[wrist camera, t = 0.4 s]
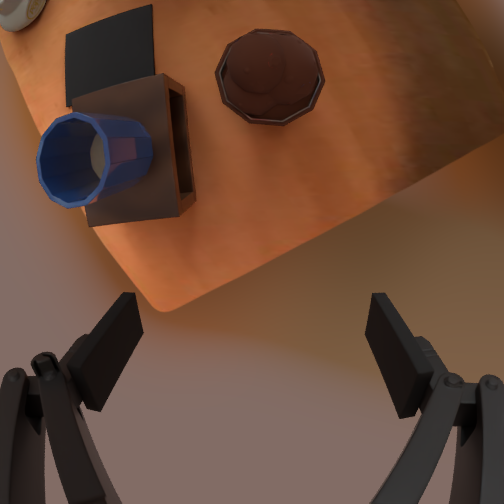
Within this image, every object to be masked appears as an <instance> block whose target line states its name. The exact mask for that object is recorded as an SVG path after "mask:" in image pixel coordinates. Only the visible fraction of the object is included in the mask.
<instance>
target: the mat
mask: <svg viewBox="0 0 504 504" xmlns="http://www.w3.org/2000/svg"><path fill="white" fill-rule="evenodd" d="M153 75H155V67H154V49H153V22H152V4H150V5H146V6H143V7H139V8H136V9H132V10H129V11H126V12H123V13H120V14H117V15H114V16H111V17H108V18H106V19H103V20H100V21H98V22H95V23H92V24H90V25H87V26H85V27H82V28H80V29H78V30H75V31H73V32H71V33H69V34H66V45H65V87H66V107H69V106H72V99H74V98H77V97H80V96H83V95H86V94H89V93H92V92H95V91H98V90H101V89H105V88H108V87H111V86H115V85H118V84H122V83H125V82H129V81H133V80H137V79H141V78H145V77H149V76H153Z"/></svg>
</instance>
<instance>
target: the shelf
mask: <svg viewBox="0 0 504 504" xmlns="http://www.w3.org/2000/svg"><path fill="white" fill-rule="evenodd" d="M72 111H73V112H84V113H95V114H105V115H114V116H123V117H127V118H130V119H133V120H135V121H138V122H140V123H141V124H142V125H143V127H144V128H145V129H146V131H147V132H148V133H149V135H150V136H151V141H152V149H153V159H152V161H151V164H150V167H149V169H148V172H147V174H146V176H144V177H143V178H142V179H141V180H140V181H139V182H137V183H136V184H135V185H134V186H132V187H130V188H128V189H125V190H123V191H120V192H117V193H115V194H113V195H110V196H108V197H105V198H103V199H100V200H98V201H96V202H93V203H91V204H89V205H86V206H85V211H86V216H87V221H88V225H89V227H95V226H102V225H110V224H118V223H127V222H135V221H144V220H153V219H162V218H171V217H179V216H180V215H182V214H183V213H184V212H185V211H186V210H187V209H188V208H189V207H190V206H192V205H193V204H194V203H195V202H196V193H195V185H194V177H193V168H192V159H191V151H190V141H189V132H188V122H187V111H186V101H185V89H184V86H183V85H181V84H180V83H178V82H176V81H175V80H173V79H172V78H170V77H168V76H167V75H165V74H164V73H162V74H158V75H153V76H149V77H145V78H141V79H137V80H133V81H129V82H125V83H122V84H118V85H115V86H111V87H108V88H105V89H101V90H98V91H95V92H92V93H89V94H86V95H83V96H80V97H77V98H74V99H72Z"/></svg>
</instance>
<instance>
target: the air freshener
mask: <svg viewBox="0 0 504 504" xmlns="http://www.w3.org/2000/svg"><path fill="white" fill-rule="evenodd" d="M45 2H46V0H0V24H1V26H2V28H3V29H4V30H6V31H9V32H14V31H18V30H21V29H23V28H24V27H26V26H28V25H29V24H30V23H31V22H32V21H33V20H34V19H35V18H36V17H37V16H38V15H39V13H40V12H41V10H42V9H43V7H44V5H45Z"/></svg>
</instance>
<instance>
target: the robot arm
mask: <svg viewBox="0 0 504 504" xmlns="http://www.w3.org/2000/svg"><path fill="white" fill-rule="evenodd" d="M143 333H144V332H143V328H142V324H141V319H140V315H139V310H138V305H137V300H136V295H135V293H129V292H123V293H122V294H121V295H120V297H119V298H118V299H117V300H116V302H115V303H114V304H113V305H112V306H111V308H110V309H109V310H108V311H107V313H106V314H105V315H104V316H103V317H102V319H101V320H100V321H99V322H98V324H97V325H96V326H95V328H94V329H93V330H92V332H91V333H90V334H84V335H83V336H81V337H80V338H78V339H77V340H76V341H75V343H74V344H73V345H72V347H70V349H69V351H68V352H67V353H66V354H65V355H64V356H63V358H62V359H61V360H60V362H59V363H58V361H57V358H56V356H55V354H53V353H52V352H43V353H40V354H38V355H36V356H35V357H34V358H33V359H32V361H31V366H32V368H33V370H34V372H35V374H36V376H27V375H26V373H25V371H24V369H22V368H13V369H11V370H9V371H8V372H7V373H6V374H5V375H4V377H3V381H2V384H1V388H0V504H45V478H44V458H45V457H44V456H45V454H44V453H45V433H46V432H45V431H46V429H47V432H48V437H49V441H50V445H51V449H52V453H53V457H54V460H55V464H56V467H57V470H58V473H59V477H60V480H61V483H62V486H63V489H64V492H65V495H66V497H67V500H68V503H69V504H122V502H121V501H120V498H119V497H118V495H117V493H116V491H115V489H114V487H113V485H112V483H111V481H110V479H109V477H108V474H107V472H106V470H105V468H104V466H103V463H102V462H101V459H100V457H99V454H98V452H97V450H96V447H95V445H94V442H93V440H92V437H91V435H90V432H89V429H88V427H87V424H86V421H85V418H84V416H83V413H82V410H81V408H80V404H81V402H82V401H83V402H84V404H85V406H86V408H87V409H90V410H94V411H98V412H101V410H102V408H103V406H104V405H105V402H106V400H107V399H108V397H109V395H110V393H111V391H112V389H113V387H114V386H115V384H116V382H117V380H118V378H119V376H120V374H121V373H122V371H123V369H124V367H125V365H126V364H127V362H128V360H129V358H130V356H131V354H132V353H133V351H134V349H135V347H136V346H137V344H138V342H139V340H140V338H141V337H142V335H143ZM365 336H366V338H367V341H368V343H369V345H370V348H371V350H372V352H373V354H374V357H375V359H376V362H377V364H378V366H379V369H380V371H381V374H382V376H383V379H384V381H385V383H386V386H387V388H388V391H389V393H390V396H391V398H392V401H393V403H394V406H395V409H396V411H397V414H398V417H399V419H403V418H408V417H413V416H415V414H416V412H417V410H418V408H419V409H420V411H421V413H422V415H421V416H420V418H419V420H418V423H417V424H416V426H415V428H414V431H413V432H412V434H411V437H410V438H409V440H408V442H407V444H406V446H405V447H404V449H403V451H402V453H401V454H400V456H399V458H398V460H397V461H396V463H395V465H394V466H393V468H392V470H391V471H390V473H389V475H388V476H387V478H386V480H385V481H384V483H383V484H382V486H381V487H380V489H379V490H378V492H377V493H376V495H375V496H374V497H373V499H372V501H371V502H370V503H369V504H418V502H419V500H420V498H421V496H422V495H423V493H424V491H425V489H426V487H427V485H428V483H429V481H430V479H431V477H432V474H433V472H434V470H435V468H436V466H437V463H438V461H439V459H440V456H441V454H442V452H443V449H444V447H445V444H446V442H447V439H448V436H449V434H450V431H451V429H452V426H457V444H456V456H455V466H454V474H453V482H452V489H451V495H450V501H449V504H504V384H503V382H502V381H501V380H500V378H498V377H496V376H494V375H484V376H483V377H482V378H481V379H480V381H479V383H465V382H464V380H463V379H462V378H461V377H460V376H459V375H457V374H455V373H450V372H448V370H447V368H446V367H445V365H444V364H443V362H442V360H441V359H440V358H439V356H438V355H437V353H436V351H435V350H434V349H433V347H432V345H431V344H430V342H429V341H427V340H426V339H425V338H423V337H422V336H420V337H414V336H413V335H412V333H411V332H410V330H409V328H408V327H407V325H406V324H405V322H404V321H403V319H402V318H401V316H400V314H399V313H398V311H397V310H396V309H395V307H394V305H393V304H392V303H391V301H390V299H389V298H388V297H387V295H386V294H385V293H372V298H371V304H370V309H369V315H368V321H367V326H366V331H365Z"/></svg>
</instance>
